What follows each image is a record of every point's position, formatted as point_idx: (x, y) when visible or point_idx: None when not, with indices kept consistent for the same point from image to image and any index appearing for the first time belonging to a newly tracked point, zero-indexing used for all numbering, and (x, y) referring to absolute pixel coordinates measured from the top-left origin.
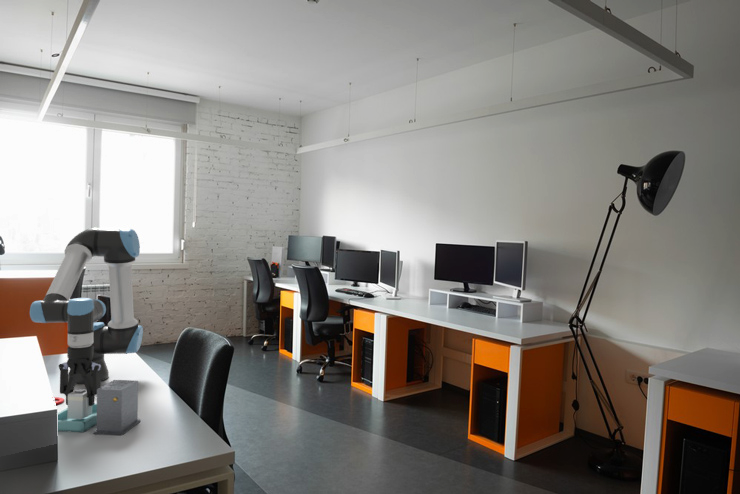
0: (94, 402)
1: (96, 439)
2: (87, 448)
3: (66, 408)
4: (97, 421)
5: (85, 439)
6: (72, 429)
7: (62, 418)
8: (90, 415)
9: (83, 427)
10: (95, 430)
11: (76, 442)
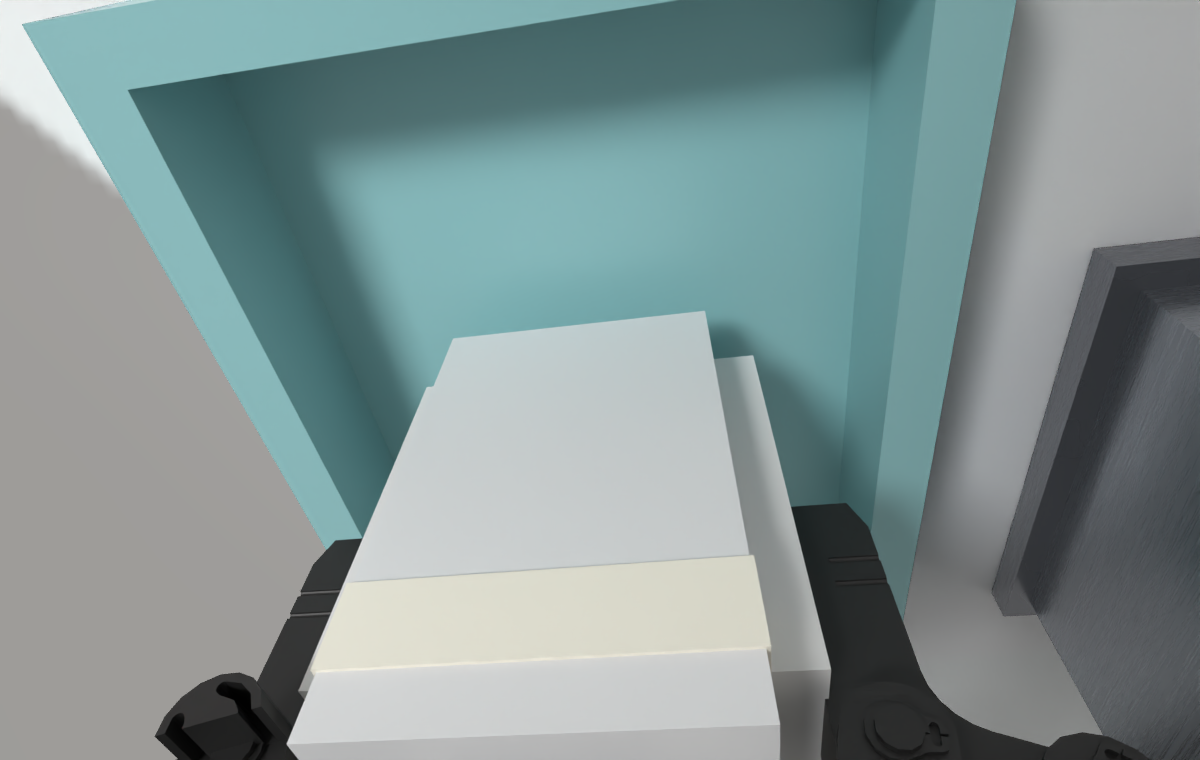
0: (873, 541)
1: None
2: None
3: (224, 370)
4: (1098, 703)
5: (966, 667)
6: None
7: (369, 431)
8: (622, 206)
9: None
10: (1013, 598)
11: None
